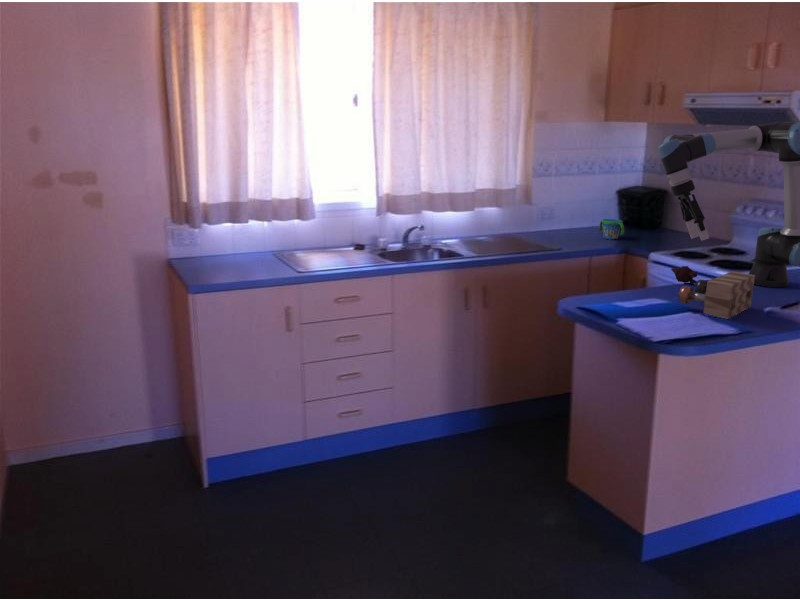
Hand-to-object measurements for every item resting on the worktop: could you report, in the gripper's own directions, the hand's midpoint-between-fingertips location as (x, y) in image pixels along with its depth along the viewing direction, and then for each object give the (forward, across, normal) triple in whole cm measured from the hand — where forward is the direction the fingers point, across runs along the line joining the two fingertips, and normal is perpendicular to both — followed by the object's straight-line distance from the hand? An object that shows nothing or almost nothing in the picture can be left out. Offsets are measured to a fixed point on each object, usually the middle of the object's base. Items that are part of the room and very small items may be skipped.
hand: (700, 238), depth 257 cm
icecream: (+19, -33, -4) cm, 39 cm away
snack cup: (+2, -129, -14) cm, 130 cm away
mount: (+26, +10, -2) cm, 28 cm away
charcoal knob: (+22, 0, -3) cm, 22 cm away
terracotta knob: (+20, +11, -11) cm, 25 cm away
